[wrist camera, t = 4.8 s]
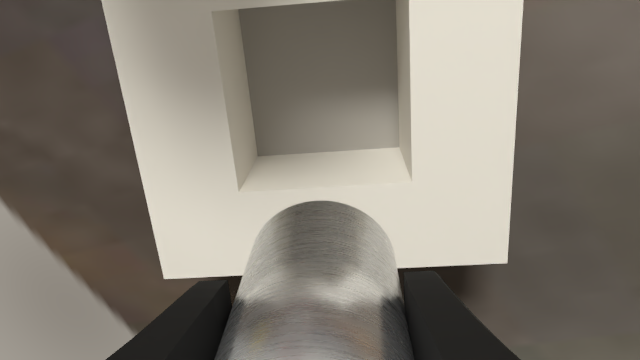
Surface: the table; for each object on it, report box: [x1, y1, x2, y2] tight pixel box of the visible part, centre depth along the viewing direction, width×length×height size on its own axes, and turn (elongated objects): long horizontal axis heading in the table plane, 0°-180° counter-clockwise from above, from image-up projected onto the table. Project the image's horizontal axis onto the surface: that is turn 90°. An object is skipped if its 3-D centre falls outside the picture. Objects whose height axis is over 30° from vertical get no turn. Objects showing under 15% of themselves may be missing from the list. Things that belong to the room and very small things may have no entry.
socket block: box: [101, 0, 523, 279], centre depth 16 cm, size 11×11×4 cm
